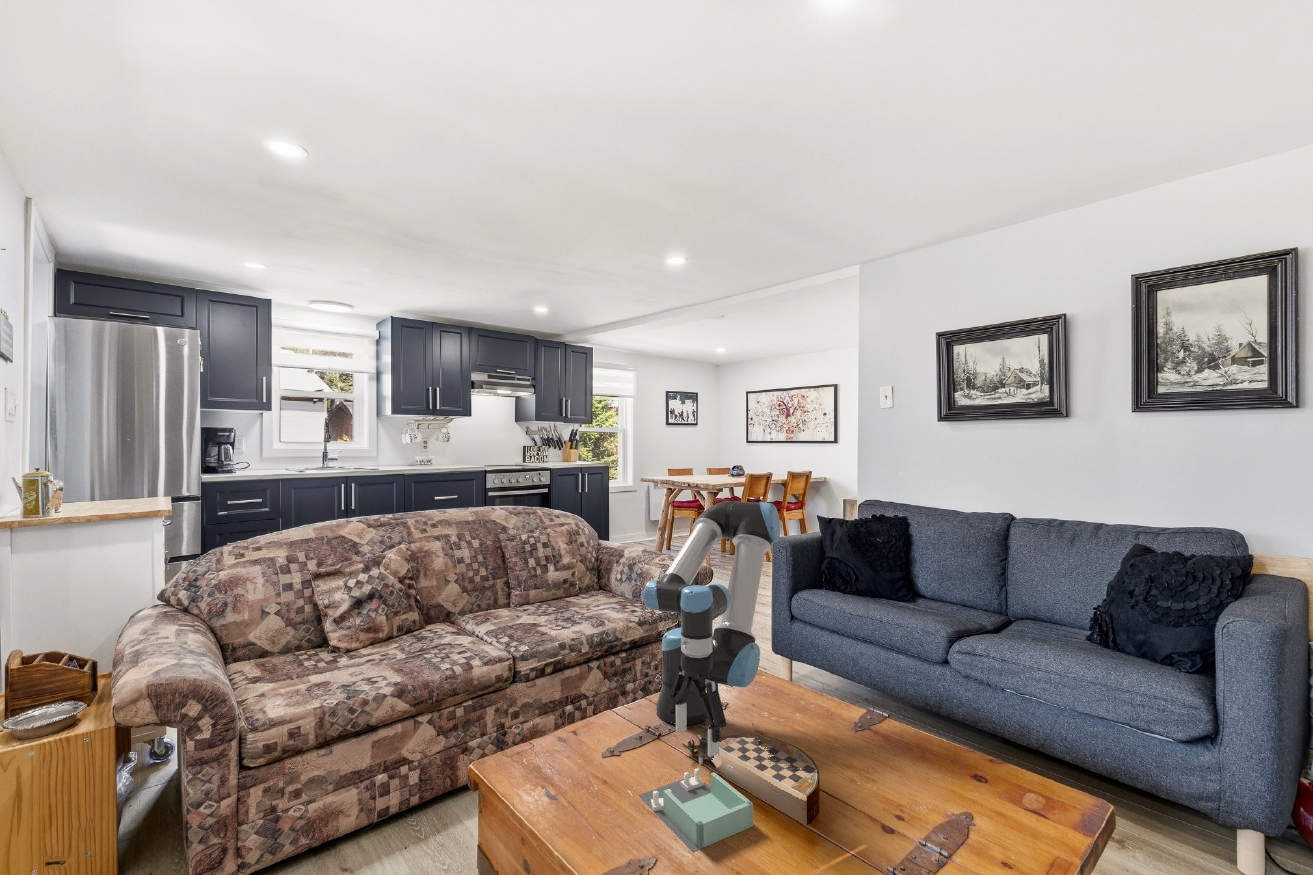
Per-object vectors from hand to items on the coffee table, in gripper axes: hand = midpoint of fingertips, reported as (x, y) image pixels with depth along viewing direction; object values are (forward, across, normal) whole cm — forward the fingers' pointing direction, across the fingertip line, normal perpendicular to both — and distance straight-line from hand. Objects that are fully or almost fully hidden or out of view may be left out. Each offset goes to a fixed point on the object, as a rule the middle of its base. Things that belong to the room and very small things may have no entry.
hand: (696, 742), depth 146 cm
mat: (+5, +15, -11) cm, 19 cm away
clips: (+5, +10, -11) cm, 16 cm away
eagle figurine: (+5, +1, +2) cm, 6 cm away
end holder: (+5, +19, -10) cm, 22 cm away
